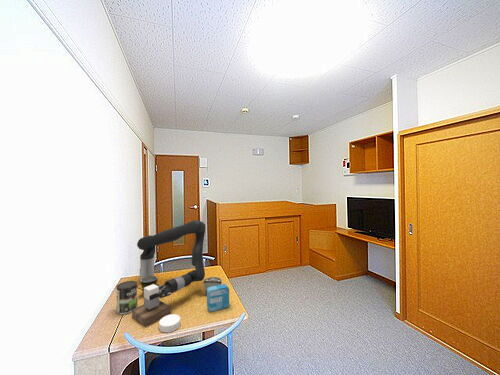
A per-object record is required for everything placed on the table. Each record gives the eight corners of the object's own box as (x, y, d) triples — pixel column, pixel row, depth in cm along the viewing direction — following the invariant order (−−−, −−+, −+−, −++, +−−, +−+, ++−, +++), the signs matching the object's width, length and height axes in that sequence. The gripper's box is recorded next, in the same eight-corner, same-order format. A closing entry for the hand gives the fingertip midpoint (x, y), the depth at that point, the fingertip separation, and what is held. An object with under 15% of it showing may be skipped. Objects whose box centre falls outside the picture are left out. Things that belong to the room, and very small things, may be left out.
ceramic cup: (152, 289, 147) (152, 274, 147) (160, 293, 142) (160, 277, 142) (132, 297, 137) (132, 281, 137) (141, 301, 131) (141, 285, 131)
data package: (208, 312, 119) (208, 290, 119) (206, 308, 123) (206, 287, 123) (229, 307, 124) (229, 286, 124) (226, 303, 128) (226, 283, 128)
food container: (224, 292, 142) (224, 276, 142) (222, 296, 136) (222, 280, 136) (206, 291, 143) (205, 276, 143) (203, 296, 137) (202, 280, 137)
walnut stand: (132, 317, 115) (132, 309, 115) (156, 305, 127) (156, 298, 127) (145, 327, 107) (145, 319, 107) (170, 313, 118) (170, 306, 118)
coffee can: (141, 306, 126) (141, 281, 126) (125, 316, 117) (125, 289, 117) (128, 303, 130) (128, 279, 130) (112, 312, 120) (111, 287, 120)
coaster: (184, 321, 112) (183, 314, 112) (174, 334, 102) (174, 326, 102) (166, 319, 113) (166, 312, 113) (154, 332, 103) (154, 324, 103)
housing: (144, 306, 116) (143, 287, 116) (153, 301, 121) (153, 284, 121) (149, 309, 113) (148, 290, 113) (159, 305, 117) (158, 286, 117)
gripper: (167, 275, 132) (140, 285, 119) (182, 281, 124) (153, 293, 110) (168, 287, 132) (140, 299, 119) (182, 294, 124) (153, 308, 110)
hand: (146, 296), depth 115 cm, fingers closed on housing, 5 cm apart
